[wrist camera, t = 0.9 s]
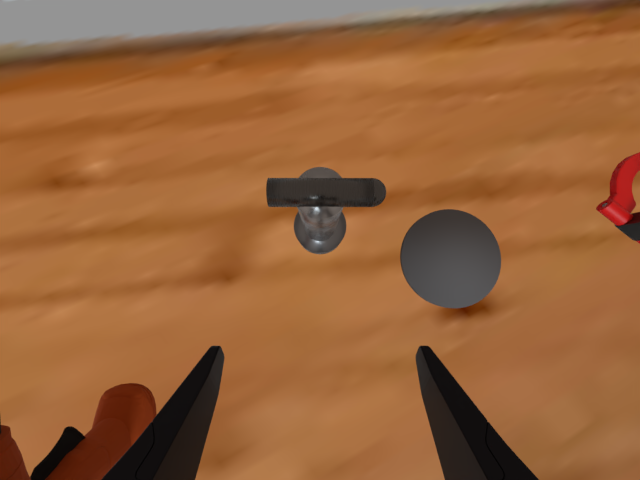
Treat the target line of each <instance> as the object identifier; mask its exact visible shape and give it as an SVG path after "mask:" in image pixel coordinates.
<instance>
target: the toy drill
mask: <svg viewBox="0 0 640 480" xmlns="http://www.w3.org/2000/svg"><path fill="white" fill-rule="evenodd" d="M156 415H157V413H156V403H155V399H154V396H153V394H152V392H151V391H150V390H149V389H148V388H147V387H146V386H144V385H141V384H138V383H127V384H120V385H117V386H114V387H112V388H110V389H108V390H106V391H105V392H104V394H103V395H102V396H101V398H100V400H99V404H98V407H97V410H96V414H95V417H94V421H93V425H92V429H91V430H90V431H89V432H88V433H87V434H86V435H85V436H84V435H83V434H82V433H81V432H80V431H78V430H77V429H76V428H74V427H72V426H68V427H66V428H65V429H64V431H63V433H62V435H61V437H60V439H59V440H58V442H57V443H56V444H55V446H54V447H53V449H52V450H51V451H50V452H49V454H48V455H47V456H46V457H45V458H44V459H43V460H42V461H41V462H40V463H39V464H38V465H37V466H36V467H35V468H34V469H33V472H32V474H31V476H30V477H29V475H28V472H27V470H26V467H25V463H24V460H23V457H22V454H21V452H20V450H19V448H18V446H17V444H16V442H15V440H14V439H13V438H12V436H11V429H10V427H9V426H5V425H1V419H0V480H101V479H102V478H103V477H104V476H105V475H106V474H107V472H108V471H109V470H110V469H111V468H112V467H113V466H114V465H115V464H116V463H117V462H118V460H119V459H120V458H121V457H122V456H123V455H124V454H125V453H126V452H127V450H128V449H129V448H130V447H131V446H132V445H133V444H134V443H135V441H136V440H137V439H138V438H139V436H140V435H141V434H142V433H143V432H144V430H145V429H146V428H147V427H148V425H149V424H150V423H151V422H152V421H153V419H154V418H155V416H156Z"/></svg>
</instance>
